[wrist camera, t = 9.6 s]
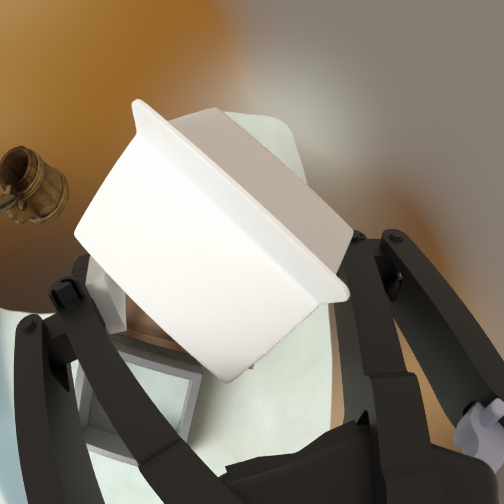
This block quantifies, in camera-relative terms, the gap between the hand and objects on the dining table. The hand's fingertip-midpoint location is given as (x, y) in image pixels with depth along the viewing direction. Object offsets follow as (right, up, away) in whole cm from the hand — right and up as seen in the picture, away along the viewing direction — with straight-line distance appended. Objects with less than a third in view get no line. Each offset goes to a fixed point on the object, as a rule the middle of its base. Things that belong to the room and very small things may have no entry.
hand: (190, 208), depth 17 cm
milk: (-1, -5, +10) cm, 11 cm away
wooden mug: (-28, +4, +22) cm, 36 cm away
